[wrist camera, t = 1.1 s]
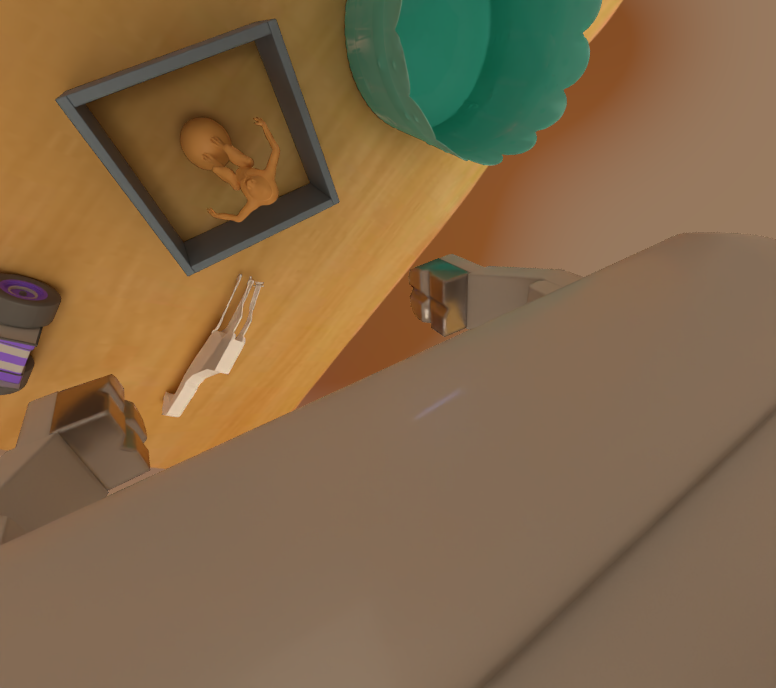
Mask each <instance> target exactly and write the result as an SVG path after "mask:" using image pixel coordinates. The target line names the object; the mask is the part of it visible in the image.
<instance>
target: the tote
mask: <svg viewBox="0 0 776 688" xmlns="http://www.w3.org/2000/svg"><path fill="white" fill-rule="evenodd" d="M251 41H255V43H256V46H257V49H258V51H259V54H260V56H261V59H262V61H263V64H264V66H265V69H266V71H267V74H268V77H269V79H270V82H271V84H272V87H273V89H274V92H275V94H276V97H277V100H278V102H279V105H280V107H281V110H282V112H283V115H284V117H285V120H286V123H287V125H288V128H289V130H290V133H291V135H292V138H293V140H294V143H295V146H296V148H297V151H298V153H299V156H300V158H301V161H302V163H303V166H304V169H305V171H306V174H307V176H308V179H309V181H310V183H309V184H307V185H305V186H303V187H300V188H298V189H296V190H294V191H292V192H290V193H288V194H286V195H283V196H281V197H279V198H277V200H276V201H275V202H274V203H272V204H270V205H262V206H260V207H258V208H257V209H256V210H254V211H252V212H251V213H250V214H249V215H248V216H247V217H246V218H245V219H244V220H243V221H241V222H235V221H232V220H230V221H228V222H226V223H224V224H222V225H219V226H217V227H215V228H213V229H211V230H209V231H207V232H205V233H202V234H200V235H198V236H196V237H194V238H192V239H190V240H187V241H185V242H183V241H182V240H181V238H180V237H179V235H178V234H177V233H176V231H175V230H174V228H173V227H172V226H171V224H170V223H169V221H168V220H167V218H166V217H165V216H164V214H163V213H162V211H161V210H160V209H159V207H158V206H157V204H156V203H155V202H154V200H153V199H152V197H151V196H150V194H149V193H148V192H147V190H146V189H145V187H144V186H143V185H142V183H141V182H140V180H139V179H138V178H137V176H136V175H135V173H134V172H133V170H132V169H131V168H130V166H129V165H128V163H127V162H126V161H125V159H124V158H123V156H122V155H121V154H120V152H119V151H118V149H117V148H116V146H115V145H114V144H113V142H112V141H111V139H110V138H109V137H108V135H107V134H106V132H105V131H104V130H103V128H102V127H101V125H100V124H99V122H98V121H97V120H96V118H95V117H94V115H93V114H92V113H91V111H90V110H89V108H88V107H87V106H86V103H88V102H91V101H94V100H96V99H99V98H102V97H104V96H107V95H110V94H112V93H115V92H118V91H120V90H123V89H126V88H128V87H131V86H134V85H136V84H139V83H142V82H144V81H147V80H150V79H152V78H155V77H158V76H160V75H163V74H166V73H168V72H171V71H174V70H176V69H179V68H182V67H185V66H187V65H190V64H193V63H195V62H198V61H201V60H203V59H206V58H209V57H211V56H214V55H217V54H219V53H222V52H225V51H227V50H230V49H233V48H235V47H238V46H241V45H243V44H246V43H249V42H251ZM56 102H57V103H58V105H59V106H60V107H61V109H62V110H63V111H64V113H65V114H66V115H67V117H68V118H69V119H70V121H71V122H72V123H73V125H74V126H75V127H76V129H77V130H78V131H79V133H80V134H81V135H82V137H83V138H84V139H85V141H86V142H87V143H88V144H89V146H90V147H91V148H92V150H93V151H94V152H95V154H96V155H97V156H98V158H99V159H100V160H101V162H102V163H103V164H104V166H105V167H106V168H107V170H108V171H109V172H110V174H111V175H112V176H113V178H114V179H115V180H116V182H117V183H118V184H119V186H120V187H121V188H122V190H123V191H124V192H125V194H126V195H127V196H128V198H129V199H130V200H131V202H132V203H133V204H134V206H135V207H136V208H137V210H138V211H139V212H140V214H141V215H142V216H143V217H144V219H145V220H146V221H147V223H148V224H149V225H150V227H151V228H152V229H153V231H154V232H155V233H156V235H157V236H158V237H159V239H160V240H161V241H162V243H163V244H164V245H165V247H166V248H167V249H168V251H169V252H170V253H171V255H172V256H173V257H174V259H175V260H176V261H177V263H178V264H179V265H180V267H181V268H182V269H183V271H184V272H185V273H186V275H187V276H190V275H192V274H194V273H196V272H198V271H200V270H203V269H205V268H207V267H209V266H211V265H213V264H215V263H217V262H219V261H221V260H223V259H225V258H227V257H229V256H231V255H233V254H235V253H237V252H239V251H241V250H243V249H245V248H248V247H250V246H252V245H254V244H256V243H258V242H260V241H262V240H264V239H266V238H268V237H270V236H272V235H274V234H276V233H278V232H280V231H282V230H284V229H286V228H288V227H291V226H293V225H295V224H297V223H299V222H301V221H303V220H305V219H307V218H309V217H311V216H313V215H315V214H317V213H319V212H321V211H323V210H325V209H327V208H329V207H331V206H333V205H335V204H337V203H339V202H340V201H339V198H338V196H337V193H336V190H335V187H334V184H333V181H332V178H331V175H330V173H329V170H328V167H327V164H326V161H325V158H324V155H323V153H322V150H321V147H320V144H319V141H318V138H317V135H316V132H315V130H314V127H313V124H312V121H311V118H310V115H309V112H308V109H307V107H306V104H305V101H304V98H303V95H302V92H301V89H300V86H299V84H298V81H297V78H296V75H295V72H294V69H293V66H292V63H291V61H290V58H289V55H288V52H287V49H286V46H285V43H284V41H283V38H282V35H281V32H280V29H279V26H278V23H277V20H276V19H270V20H264V21H258V22H254V23H251V24H249V25H246V26H243V27H240V28H237V29H235V30H232V31H229V32H226V33H224V34H221V35H218V36H216V37H213V38H210V39H207V40H205V41H202V42H199V43H196V44H194V45H191V46H188V47H185V48H183V49H180V50H177V51H174V52H172V53H169V54H166V55H163V56H161V57H158V58H155V59H152V60H150V61H147V62H144V63H141V64H139V65H136V66H133V67H131V68H128V69H125V70H122V71H120V72H117V73H114V74H111V75H109V76H106V77H103V78H100V79H98V80H95V81H92V82H89V83H87V84H84V85H81V86H78V87H76V88H74V89H70V90H67V91H65V92H64V93H63V94H61V95H60V96H59V97H58V98H57V99H56Z"/></svg>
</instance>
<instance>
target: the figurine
mask: <svg viewBox="0 0 776 688" xmlns="http://www.w3.org/2000/svg"><path fill="white" fill-rule="evenodd" d="M256 118H257V119H258V120H257V119H255V118H253V119H254V120H256V121H257V122H258V123H255V122H254V123H255V124H256V125H259V126H262V127H263V131H264V134H265V136H266V138H267V140H268V141H269V143H270V146H271V148H272V150H273V151H272V153H271V156H270V158H269V161H268V164H267V167H266V168H265V169H264V170H259V169H257V168H252V167H253V165H254V161H253V159H252V158H250V157H247V156H246V155H244V154H243V153H242V152H241V151H240V150H238V149H237V148H235V147H232V143H231V140H230V137H229V135H228V133H227V132H226V130H225V129H224V128H223V127H222V126H221V125H220V124H219V123H217V122H216V121H214V120H212V119H209V118H205V117H197V118H193V119H191V120H189V121H188V122H187V123H186V124H185V125H184V126H183V128H182V130H181V134H180V143H181V147H182V150H183V152H184V154H185V155H186V157H187V158H188V159H189V160H190V161H191V162H192V163H193V164H194V165H196V166H197V167H199V168H202V169H205V170H213V172H214V173H215V174H216V175H218V176H219V177H220V178H221V179H222V180H223V181H225V182H227V183H229V184H230V185H231V186H232V187H233V189H234V190H240V189H241V190H242V192H243V193H244V195H245V196H246V198H247V204H246V205H245V206H244V207H243V208H242V210H241V211H240V212H239V214H238V215H230V214H226V213H219V214H217V213H215V212H214V211H213V209H211V208H210V209H211V210H209V209H208V208H207V210H208V213H210V214H211V215H212V216H213V217H215V218H220V219H224V220H232V221H235V222H241V221H243V220H244V219H245V218H246V217H247V216H248V215H249V214H250V213H251V212H252V211H254V210H256V209H257V208H258V207H259V206H261V205H270V204H272V203H274V202H275V201H276V200H277V198H278V187H277V185H276V182H275V175H276V166H277V163H278V159H279V154H280V148H279V146H278V145H277V143H276V142H275V140H274V138H273V136H272V134H271V132H270V130H269V129H268V127H267V125H266V123H265V122H264V121H263V120H262V119H261V118H260V119H259V118H258V117H256ZM229 160H230V161H231V162H232V163H233V164H235V165H237V166H239V167H240V168H238V169H237V170H236V174H235V173H234V172H233V170H231V169H230V168H228V167H225V165H226V164H227V163H228V162H229Z"/></svg>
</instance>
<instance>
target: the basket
mask: <svg viewBox="0 0 776 688" xmlns="http://www.w3.org/2000/svg"><path fill="white" fill-rule="evenodd" d="M601 4H602V0H347V2H346V8H345V11H346V14H345V37H346V48H347V57H348V60H349V62H350V69H351V71H352V73H353V78H354V80H355V82H356V85H357V87H358V90H359V91H360V92H361V95H362V97H363V98H364V100H365V101H366V103H367V105H368V106H369V107H370V108H371V109H372V111H373V112H374V113H375V114H377V116H378V117H379V118H380V119H382V120H383V121H384V122H385V123H387V124H389V125H390V126H392V127H393V128H396V129H398V130H401V131H403V132H405V133H407V134H409V135H412V136H414V137H416V138H418V139H421V140H423V141H425V142H426V143H427V144H429V145H433V146H435V147H437V148H439V149H441V150H443V151H444V152H446V153H450V154H453V155H455V156H457V157H459V158H461V159H463V160H465V161H468V160H470V161H473V162H476V163H479V164H483V165H496V164H499V163H501V162H502V159H503V156H502V154H504V155H516V154H521V153H524V152H526V151H528V150H529V149H531V148H532V147H533V146H534V145H535V143H536V140H537V136H536V133H535V132H536V131H538V130H542V129H545V128H547V127H549V126H551V125H553V124H554V123H555V122H556V121H558V120H559V119H560V118H561V116H562V115H563V113H564V110H565V108H566V104H567V99H566V95H565V93H564V89H565V88H568V87H570V86H571V85H572V84H574V83H575V82H576V81H577V80H578V79H579V78H580V77H581V76H582V74H583V73H584V71H585V69H586V67H587V65H588V61H589V56H590V48H589V44H588V41H587V39H586V38H585V37H584V35H583V32H584V31H585V30H587V29H588V28H589V27H590V25H591V24H592V23H593V22H594V20H595V19H596V17H597V15H598V13H599V11H600V7H601Z"/></svg>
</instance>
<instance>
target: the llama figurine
mask: <svg viewBox="0 0 776 688" xmlns="http://www.w3.org/2000/svg"><path fill="white" fill-rule="evenodd" d="M241 277H242V274H239V276H238V277H237V284H236V286H235V288H234V290H233V293H232V295H231V297H230V300H229V302H228V304H227V306H226V309H225V311H224V313H223V315H222V317H221V319H220V321H219V323H218V325H217V327H216V329H214V330H213V331H212V334H211V336H210V337H209V338H208V340H207V341H206V343H205V344H204V346H203V347H202V349H201V350H200V351H199V353H198V354H197V356H196V357H195V359H194V360H193V362H192V363H191V365H190V367H189V368H188V370H187V372H186V374H185V375H184V377H183V379H182V381H181V383H180V385H179V387H178V389H177V391H176V393H175V394H171V393H168V392H166V393H165V396H164V398H163V400H164V402H163V407H162V411H163V413H162V415H167V416H173V417H180V415H181V414H182V412H183V411H184V409H185V408H186V406H187V405H188V403H189V402H190V400H191V398H192V397H193V395H194V394H195V392H196V390H197V388H198V385H199V384H200V383H201V382H202V381H203V380H204V379H205V378H207V377H210V376H213V375H215V374H218V373H225V374H229V372H230V370H231V368H232V366H233V364H234V363H235V361H236V359H237V357H238V355H239V353H240V352H241V350H242V348H243V346H244V344H245V337H244V335H245V333H246V331H247V329H248V327H249V325H250V323H251V322H252V312H253V310H254V307H255V303H256V300H257V297H258V294H259V291H260V288H261V285H262V284H263V282H255V283H256V285H253V283H254V280H252V281H251V278H252V277H251V276H250V278H249V280H248V283H247V288H246V291H245V293H244V295H243V297H242V299H241V301H240V303H239V305H238V307H237V309H236V311H235V313H234V315H233V317H232V318H231V320H230V322H229V324H228V326H227V327H226V328H225V329H224V330H222V331H221V332H219V331H217V330H218V328H219V327H220V325H221V322H222V320H223V318H224V315H225V313H226V311H227V308H228V306H229V304H230V302H231V299H232V297H233V295H234V293H235V291H236V288H237V286H238V284H239V282H240V280H241ZM252 285H253V286H256V287H255V290H254V293H253V297H252V300H251V303H250V307H249V310H250V311H249V315H248V318H247V321H246V323H245V325H244V327H243V328H242V330H241V332H240V333H239V335H238V336H237V337H236V338H235V336H236V334H234V332H235V330H236V328H237V326H238V324H239V322H240V320H241V318H242V312H243V305H244V302H245V300H246V298H247V296H248V294H249V291H250V289H251V287H252ZM262 287H264V286H262Z"/></svg>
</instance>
